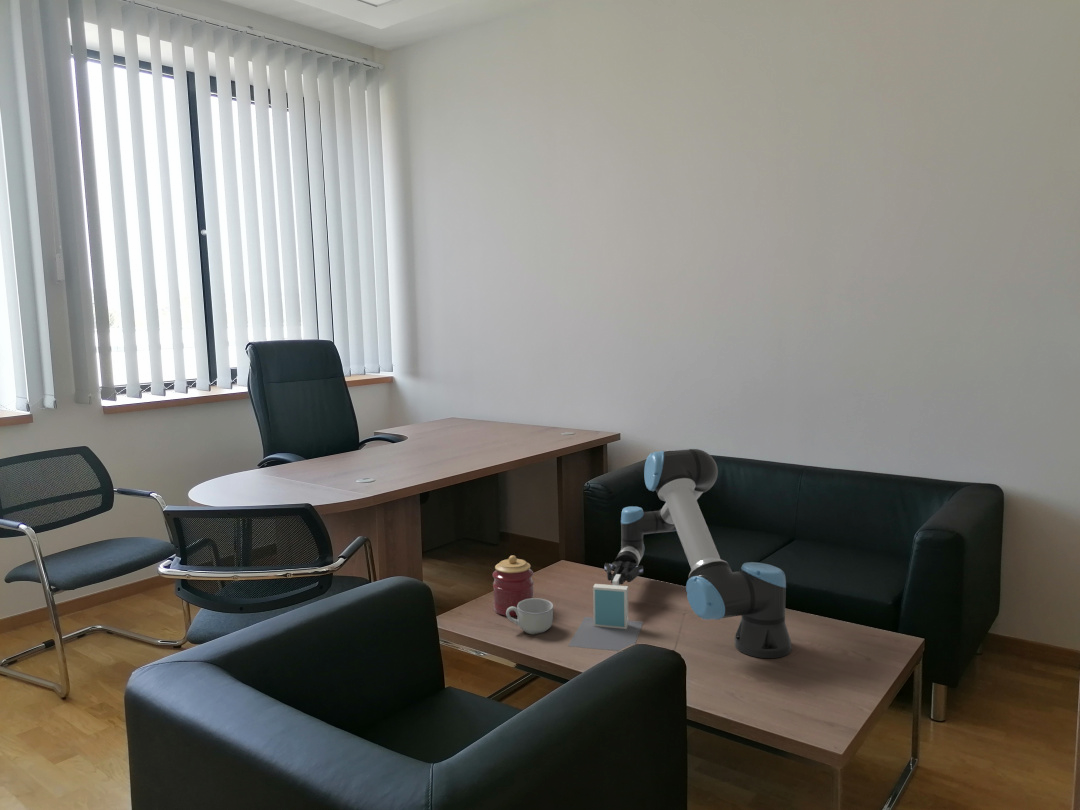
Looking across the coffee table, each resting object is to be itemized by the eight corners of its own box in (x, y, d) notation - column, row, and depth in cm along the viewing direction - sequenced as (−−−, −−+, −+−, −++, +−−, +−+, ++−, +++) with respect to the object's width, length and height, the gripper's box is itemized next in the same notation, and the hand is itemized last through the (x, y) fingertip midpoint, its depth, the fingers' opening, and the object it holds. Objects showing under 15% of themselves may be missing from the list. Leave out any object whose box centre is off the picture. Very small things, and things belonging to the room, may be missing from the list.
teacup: (555, 623, 239) (554, 598, 238) (552, 638, 229) (551, 611, 228) (509, 622, 241) (508, 597, 240) (504, 637, 230) (503, 610, 229)
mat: (585, 618, 243) (585, 616, 243) (643, 623, 238) (643, 621, 238) (568, 647, 222) (568, 645, 222) (631, 653, 217) (631, 652, 217)
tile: (595, 622, 238) (594, 583, 237) (628, 625, 236) (627, 586, 234) (593, 626, 235) (592, 587, 234) (626, 629, 233) (626, 589, 231)
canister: (525, 619, 243) (523, 563, 241) (486, 614, 248) (485, 559, 246) (540, 604, 255) (539, 551, 253) (503, 600, 260) (502, 547, 258)
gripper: (646, 573, 263) (635, 599, 241) (608, 570, 267) (594, 595, 244) (646, 551, 262) (635, 575, 240) (608, 549, 266) (593, 572, 243)
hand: (614, 585), depth 242 cm, fingers closed
